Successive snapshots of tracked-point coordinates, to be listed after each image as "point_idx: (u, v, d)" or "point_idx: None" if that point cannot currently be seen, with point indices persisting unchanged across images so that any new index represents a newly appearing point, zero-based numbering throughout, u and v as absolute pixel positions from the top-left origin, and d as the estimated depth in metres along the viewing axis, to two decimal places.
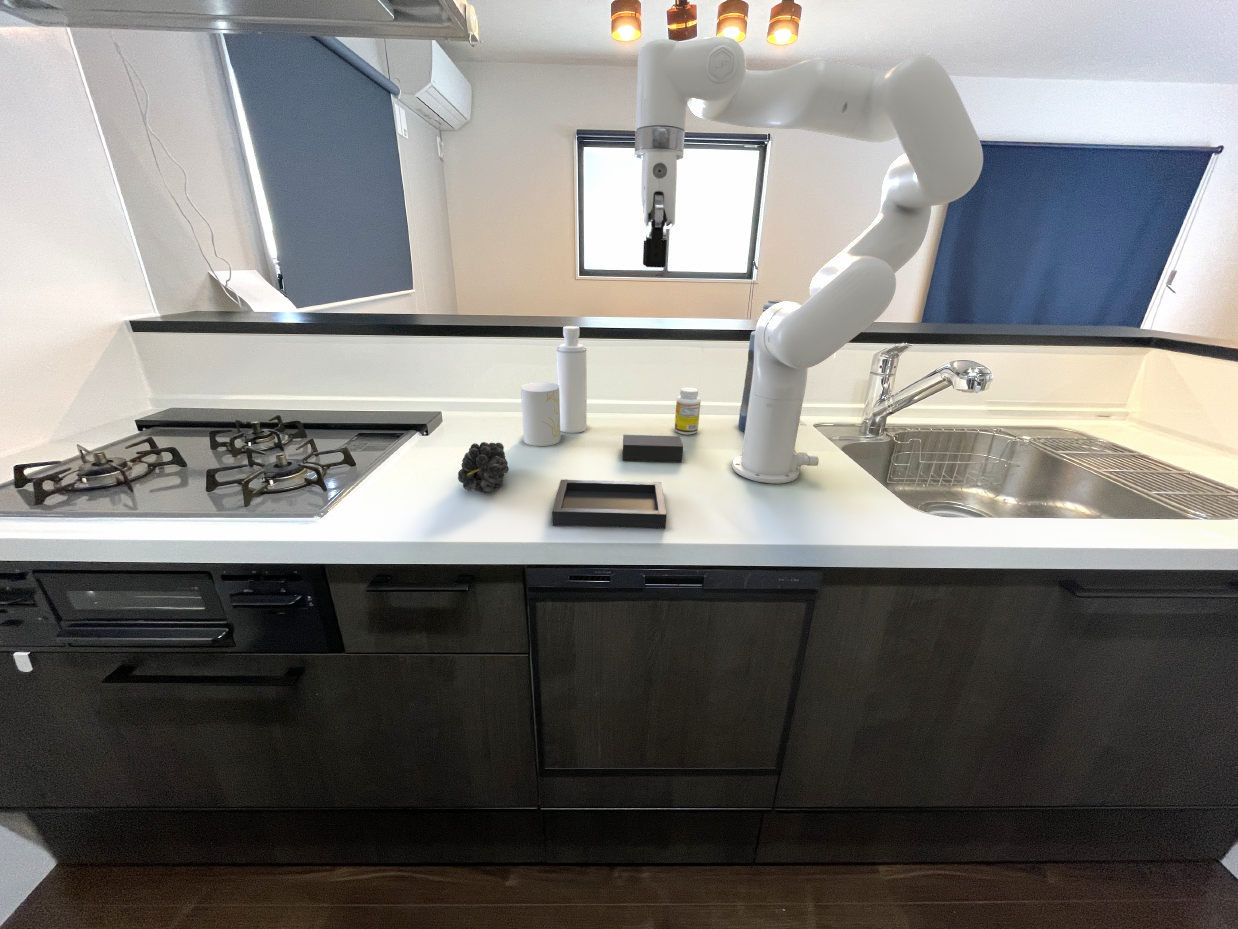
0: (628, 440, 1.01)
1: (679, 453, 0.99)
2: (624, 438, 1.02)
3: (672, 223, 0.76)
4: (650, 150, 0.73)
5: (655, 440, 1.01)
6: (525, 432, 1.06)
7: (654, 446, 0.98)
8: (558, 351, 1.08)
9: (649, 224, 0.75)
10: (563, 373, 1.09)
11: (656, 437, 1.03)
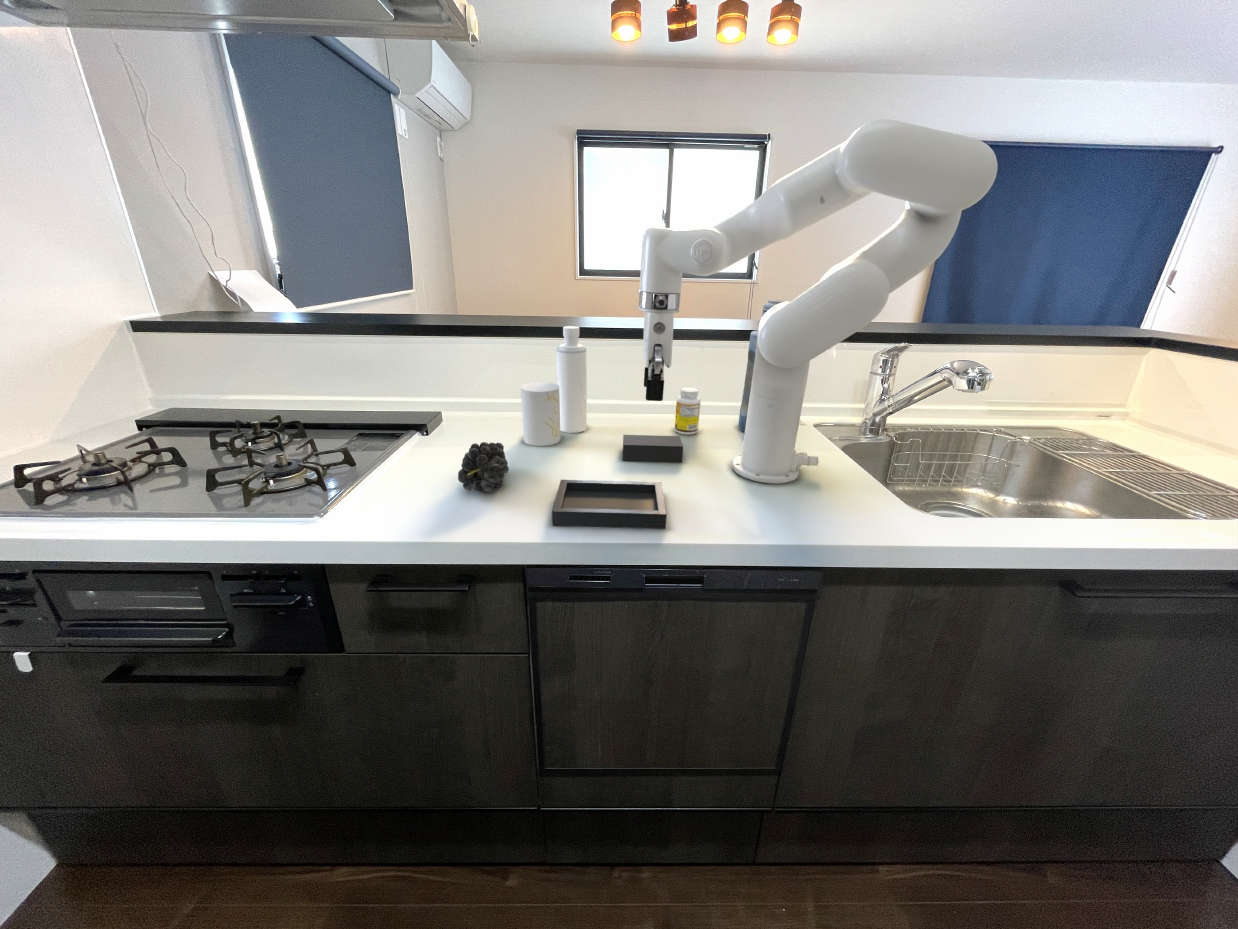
0: (628, 440, 1.01)
1: (679, 453, 0.99)
2: (624, 438, 1.02)
3: (669, 367, 0.90)
4: (651, 310, 0.87)
5: (655, 440, 1.01)
6: (525, 432, 1.06)
7: (654, 446, 0.98)
8: (558, 351, 1.08)
9: (649, 368, 0.90)
10: (563, 373, 1.09)
11: (656, 437, 1.03)
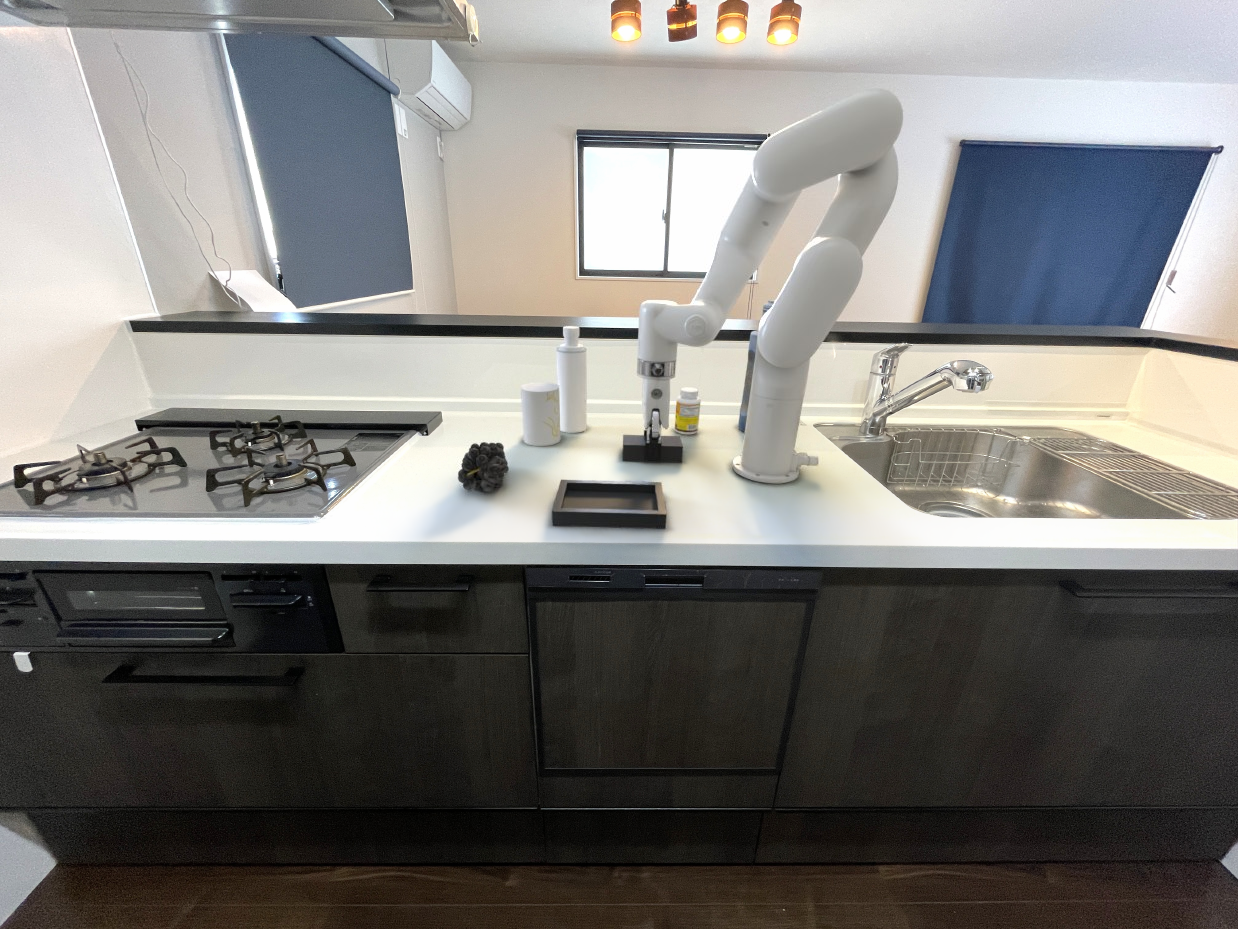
0: (628, 440, 1.01)
1: (678, 453, 0.99)
2: (624, 438, 1.02)
3: (666, 428, 0.95)
4: (649, 377, 0.92)
5: None
6: (525, 432, 1.06)
7: None
8: (558, 351, 1.08)
9: (648, 433, 0.96)
10: (563, 373, 1.09)
11: None
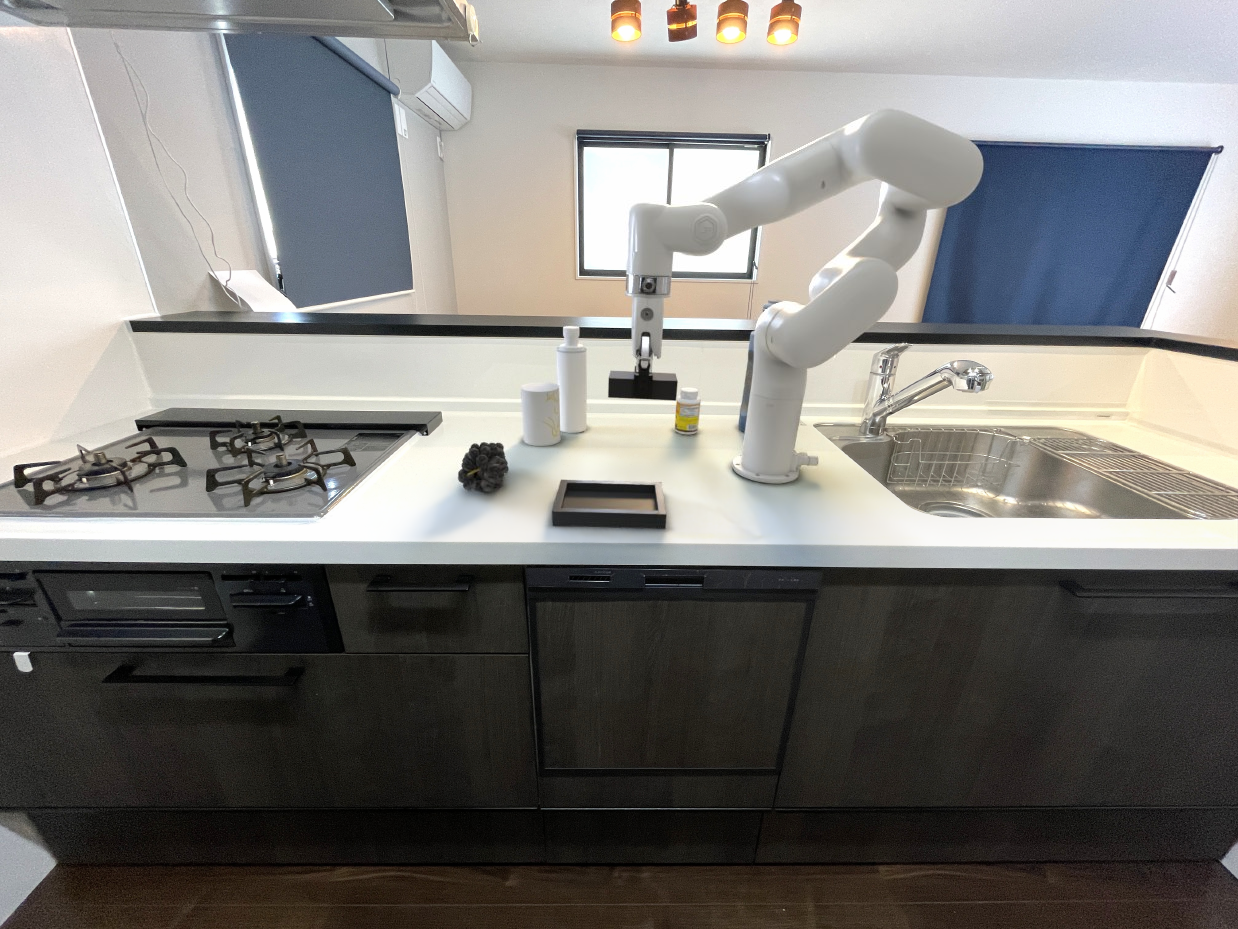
0: (615, 374, 0.88)
1: (672, 389, 0.86)
2: (611, 373, 0.89)
3: (658, 357, 0.82)
4: (638, 295, 0.79)
5: None
6: (525, 432, 1.06)
7: None
8: (558, 351, 1.08)
9: (637, 363, 0.83)
10: (563, 373, 1.09)
11: None
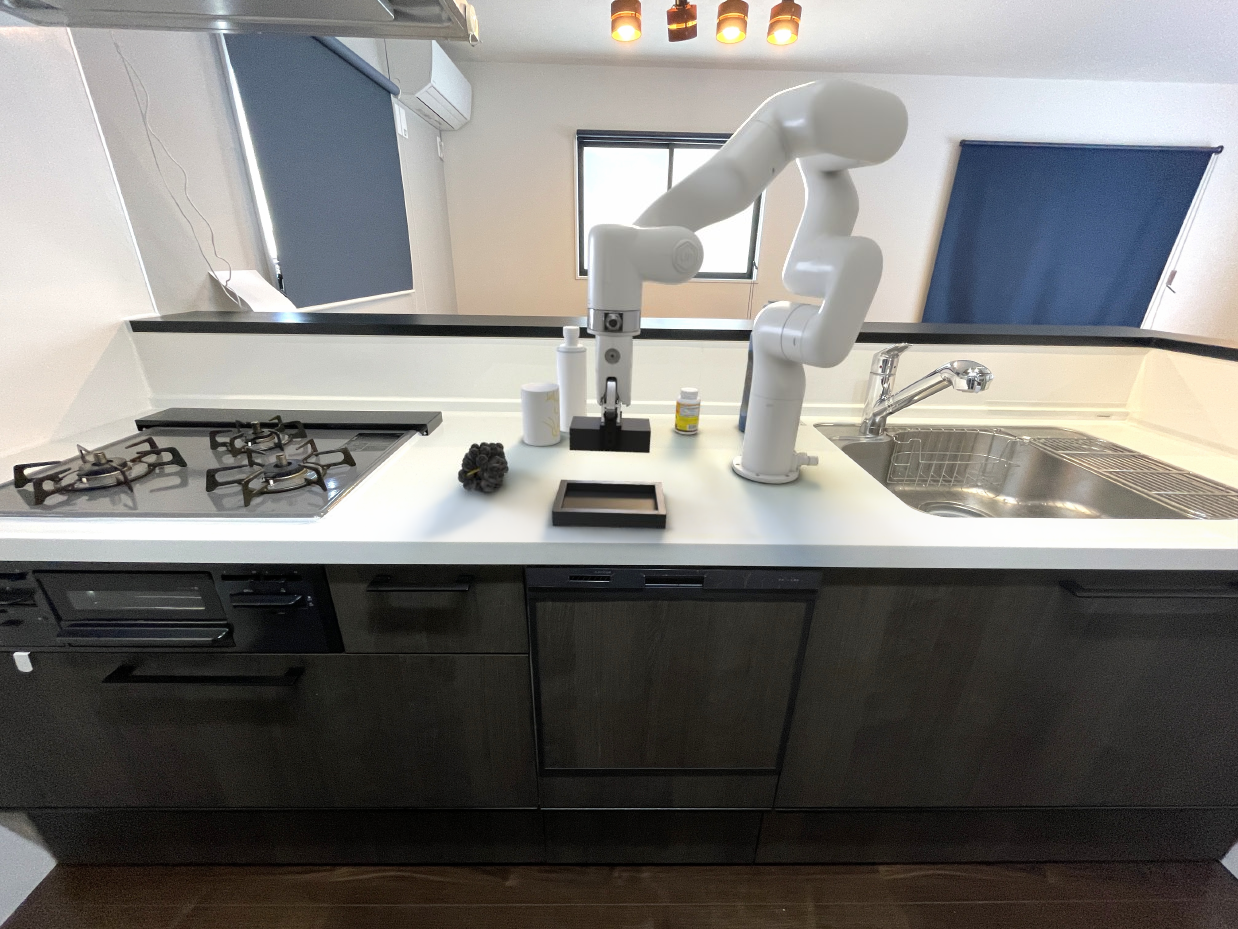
0: (578, 422, 0.75)
1: (645, 440, 0.73)
2: (573, 420, 0.76)
3: (627, 405, 0.69)
4: (602, 333, 0.66)
5: None
6: (525, 432, 1.06)
7: None
8: (558, 351, 1.08)
9: (602, 411, 0.70)
10: (563, 373, 1.09)
11: None
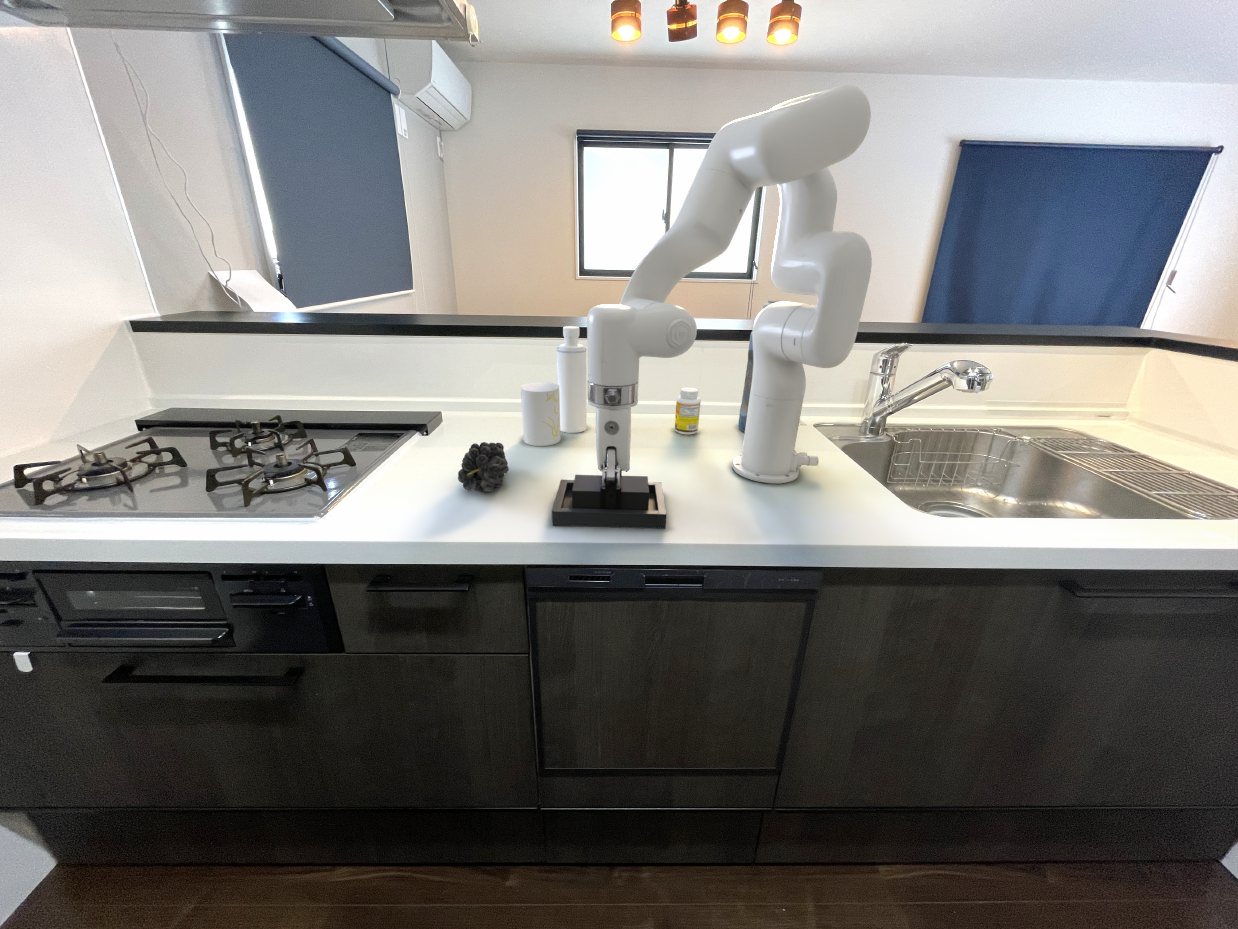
0: (580, 483, 0.79)
1: (644, 500, 0.77)
2: (575, 480, 0.80)
3: (627, 471, 0.73)
4: (602, 406, 0.70)
5: None
6: (525, 432, 1.06)
7: None
8: (558, 351, 1.08)
9: (603, 476, 0.74)
10: (563, 373, 1.09)
11: None
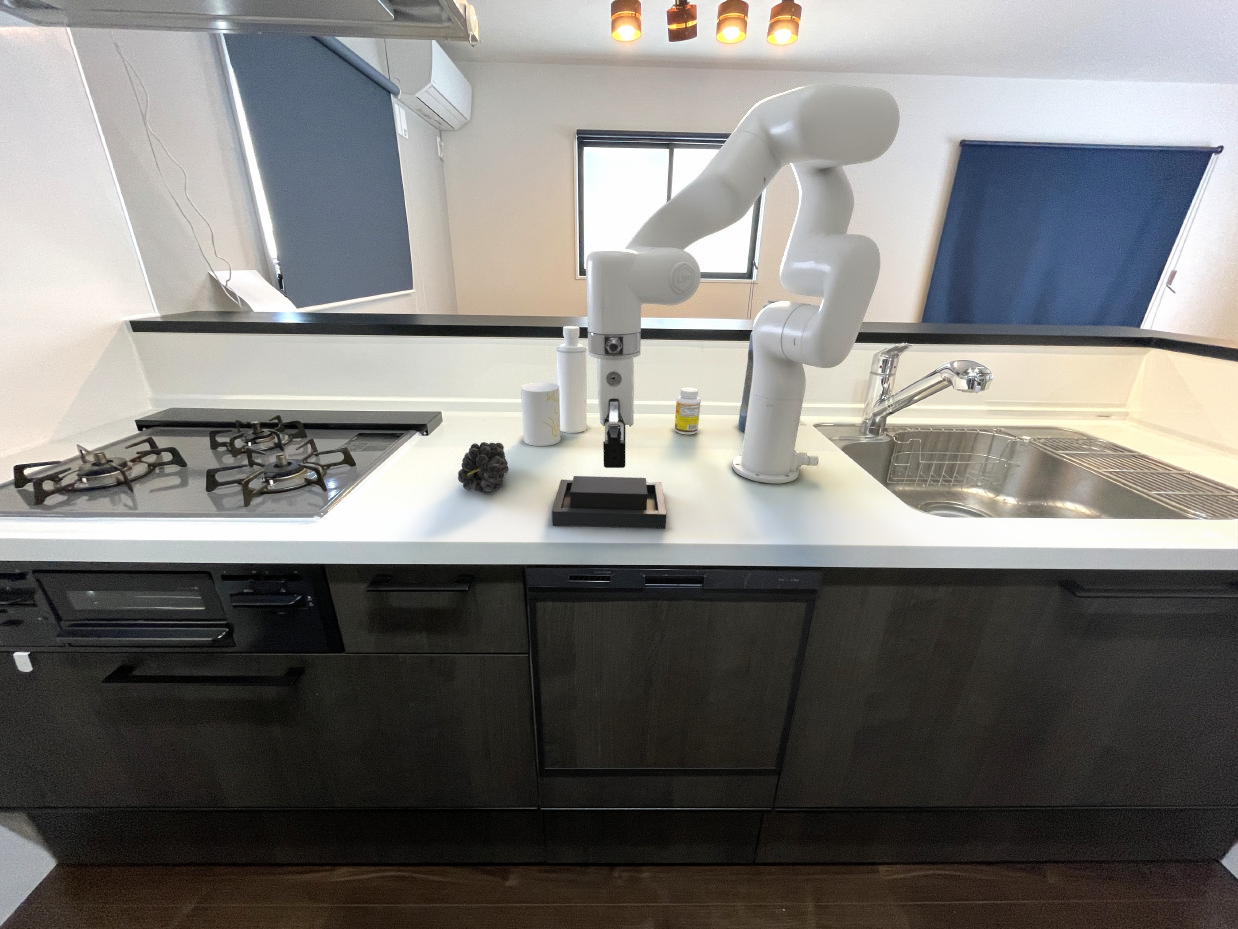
0: (579, 484, 0.79)
1: (642, 502, 0.77)
2: (574, 481, 0.80)
3: (630, 425, 0.71)
4: (603, 357, 0.68)
5: (613, 485, 0.79)
6: (525, 432, 1.06)
7: (609, 494, 0.76)
8: (558, 351, 1.08)
9: (605, 429, 0.70)
10: (563, 373, 1.09)
11: (615, 480, 0.81)
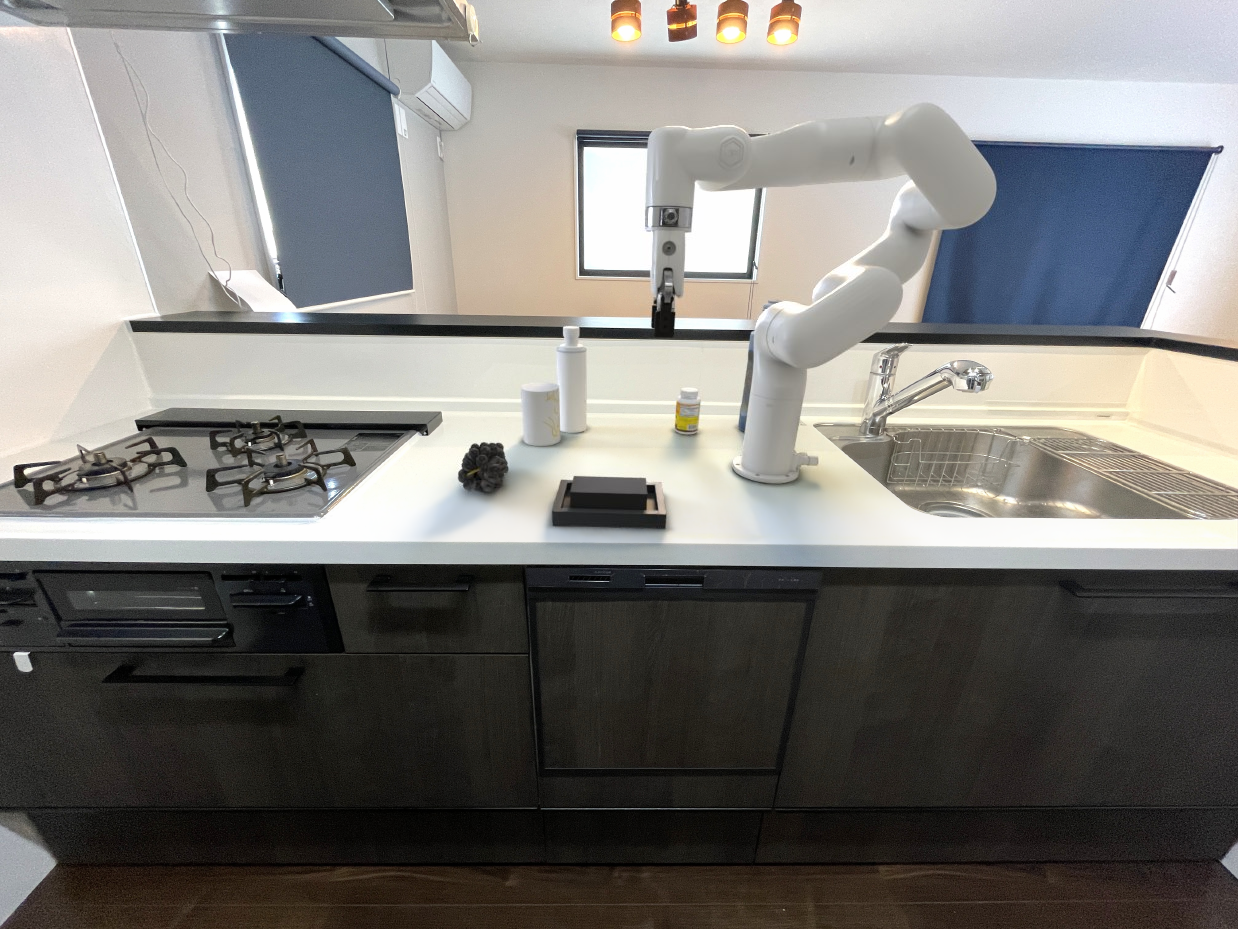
0: (579, 484, 0.79)
1: (642, 502, 0.77)
2: (574, 481, 0.80)
3: (680, 296, 0.78)
4: (659, 228, 0.75)
5: (613, 485, 0.79)
6: (525, 432, 1.06)
7: (609, 494, 0.76)
8: (558, 351, 1.08)
9: (658, 297, 0.77)
10: (563, 373, 1.09)
11: (615, 480, 0.81)
